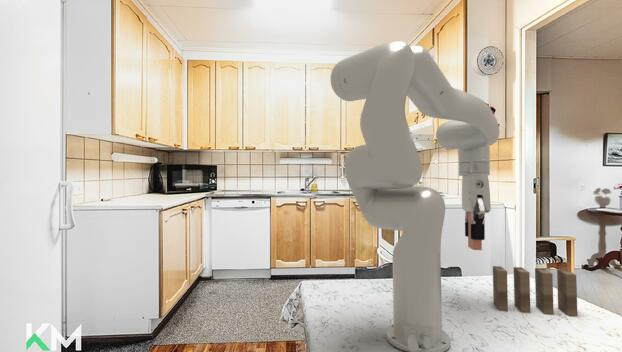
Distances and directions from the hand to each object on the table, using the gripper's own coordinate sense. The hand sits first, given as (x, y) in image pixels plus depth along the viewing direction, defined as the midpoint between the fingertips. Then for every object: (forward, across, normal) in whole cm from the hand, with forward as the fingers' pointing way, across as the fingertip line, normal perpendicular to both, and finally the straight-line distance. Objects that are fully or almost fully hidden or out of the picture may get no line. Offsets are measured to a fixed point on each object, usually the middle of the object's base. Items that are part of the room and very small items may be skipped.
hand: (474, 237), depth 89 cm
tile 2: (+18, -1, -16) cm, 24 cm away
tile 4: (+18, 0, -6) cm, 19 cm away
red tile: (+3, 0, 0) cm, 3 cm away
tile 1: (+18, -1, -21) cm, 27 cm away
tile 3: (+18, -1, -11) cm, 21 cm away
